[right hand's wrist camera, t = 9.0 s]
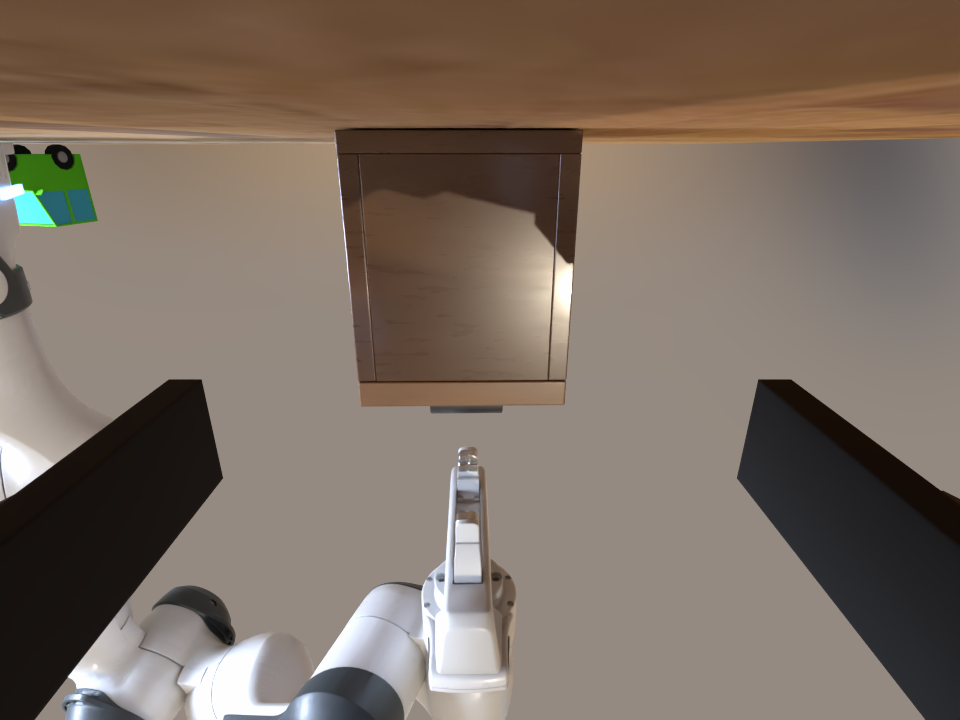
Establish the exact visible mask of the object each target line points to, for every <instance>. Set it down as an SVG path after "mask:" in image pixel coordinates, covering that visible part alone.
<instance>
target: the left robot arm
mask: <svg viewBox="0 0 960 720" xmlns="http://www.w3.org/2000/svg"><path fill="white" fill-rule="evenodd" d="M14 153H15V152H14V147H13V143H0V446H1V447H0V501H2V500H4V499H6V498H8V497H10V496H12V495H14V494H15V493H17V492H18V491H20V490H21V489H22V488H24V487H25V486H26V485H28V484H29V483H30V482H32V481H33V480H34V479H36V478H37V477H38V476H40V475H41V474H42V473H44V472H45V471H46V470H48V469H49V468H51V467H52V466H53V465H55V464H56V463H57V462H59V461H60V460H61V459H63V458H64V457H65V456H67V455H68V454H69V453H71V452H72V451H73V450H75V449H76V448H77V447H79V446H80V445H81V444H83V443H84V442H86V441H87V440H88V439H90V438H91V437H92V436H94V435H95V434H96V433H98V432H99V431H100V430H102V429H103V428H104V427H106V426H107V425H108V424H110V423H111V422H112V421H114V420H115V419H114V418H111V417H109V416H106V415H104V414H102V413H100V412H98V411H96V410H94V409H93V408H91V407H89V406H88V405H86V404H85V403H83V402H82V401H81V400H79V399H78V398H77V397H76V396H75V395H73V394H72V393H71V392H70V391H69V390H68V389H67V388H66V386H65V385H64V384H63V383H62V381H61V380H60V379H59V377H58V376H57V374H56V372H55V370H54V369H53V367H52V364H51V362H50V360H49V358H48V356H47V354H46V352H45V349H44V347H43V345H42V342H41V340H40V337H39V335H38V332H37V330H36V327H35V324H34V321H33V318H32V315H31V312H30V309H29V306H30V305H31V303H32V298H31V294H30V290H31V289H30V285H29V282H28V281H27V280H26V277H25V274H24V271H23V268H22V267H21V266H19V265H17V264H15V257H14V256H15V247H16V243H17V241H18V239H19V237H20V234H21V229H20V224H19V219H18V214H17V209H16V204H15V199H14V197H16V196H19V195H22V194H25V193H24V189H23V186H22V184H17V185H13V186H12V185H11V180H10V176H9V171H8V166H7V162H6V157H5V155H9V154H14ZM515 619H516V588H515V585H514V582H513V580H512V578H511V577H510V575H509V574H508V573H507V572H506V571H505V570H504V569H503V568H502V567H500V566H499V565H497V564H496V563H495V562H494V561H493V560H492V559H490V543H489V523H488V503H487V482H486V471H485V469H484V467H482V466H478V452H477V449H476V448H475V447H461V448H460V449H459V452H458V466H456V467H454V468H453V469H452V472H451V483H450V500H449V517H448V534H447V551H446V561H444V562H443V563H442V564H441V565H440V566H439V567H438V568H436V569H435V570H434V571H433V572H432V573H431V574H430V575H429V576H428V578H427V579H426V581H425V583H424V585H423V586H421V585H416V584H412V583H405V582H390V583H385V584H381V585H379V586H377V587H375V588H373V589H372V590H371V591H370V592H369V594H368V595H367V597H366V598H365V599H364V601H363V602H362V603H361V605H360V606H359V608H358V609H357V610H356V612H355V613H354V615H353V616H352V618H351V619H350V621H349V622H348V623H347V625H346V627H345V628H344V630H343V631H342V633H341V634H340V636H339V637H338V639H337V640H336V641H335V643H334V644H333V646H332V647H331V649H330V650H329V652H328V653H327V655H326V656H325V657H324V659H323V660H322V662H321V663H320V665H319V666H318V668H317V669H316V671H315V672H314V668H313V664H312V660H311V657H310V654H309V652H308V651H307V649H306V648H305V646H304V645H303V644H302V643H301V642H300V641H299V640H298V639H297V638H296V637H294V636H292V635H291V634H288V633H284V632H267V633H263V634H259V635H256V636H253V637H251V638H249V639H246V640H244V641H241V642H239V643H237V644H235V645H233V644H234V642H235V631H234V629H233V627H232V626H231V618H230V615H229V613H228V610H227V608H226V606H225V604H224V603H223V601H222V600H221V599H220V598H219V597H217V596H216V595H215V594H213V593H212V592H210V591H208V590H206V589H203V588H200V587H197V586H181V587H175V588H173V589H172V590H171V591H169V592H168V593H167V594H165V595H164V596H163V597H162V598H161V599H160V600H159V601H158V602H157V603H156V604H155V605H154V606H153V608H152V612H151V613H150V614H149V615H148V616H147V617H146V618H145V619H144V620H143V621H142V622H141V623H140V624H139V625H137V624H136V623H135V622H134V621H133V612H132V602H131V597H130V598H129V599H128V601H127V602H126V603H125V604H124V606H123V607H122V608H121V610H120V611H119V612H118V613H117V615H116V616H115V617H114V619H113V620H112V621H111V622H110V624H109V625H108V626H107V628H106V629H105V630H104V631H103V633H102V634H101V635H100V636H99V638H98V639H97V640H96V642H95V643H94V644H93V645H92V647H91V648H90V649H89V651H88V652H87V653H86V654H85V656H84V657H83V658H82V660H81V661H80V662H79V663H78V665H77V666H76V667H75V669H74V670H73V671H72V672H71V674H70V675H69V676H68V677H69V678H71V679H72V680H73V681H74V682H75V683H76V686H77V689H76V690H75V693H74V694H69V695H67V696H65V698H64V700H63V703H62V708H63V710H64V711H65V712H66V716H65V720H173V719H174V717H175V716H176V715H177V713H178V712H179V710H180V709H181V707H182V706H183V704H184V703H185V704H184V705H185V713H186V717H187V720H406V718H407V716H408V713H409V711H410V709H411V707H412V705H413V703H414V701H415V699H416V700H417V701H419V703H420V704H421V705H422V706H423V707H424V708H425V709H426V710H427V712H428V713H429V714H430V716H431V718H432V720H505V718H506V716H507V713H508V710H509V706H510V701H511V695H512V687H513V676H514V656H513V652H512V646H513V642H514V637H515Z"/></svg>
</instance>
